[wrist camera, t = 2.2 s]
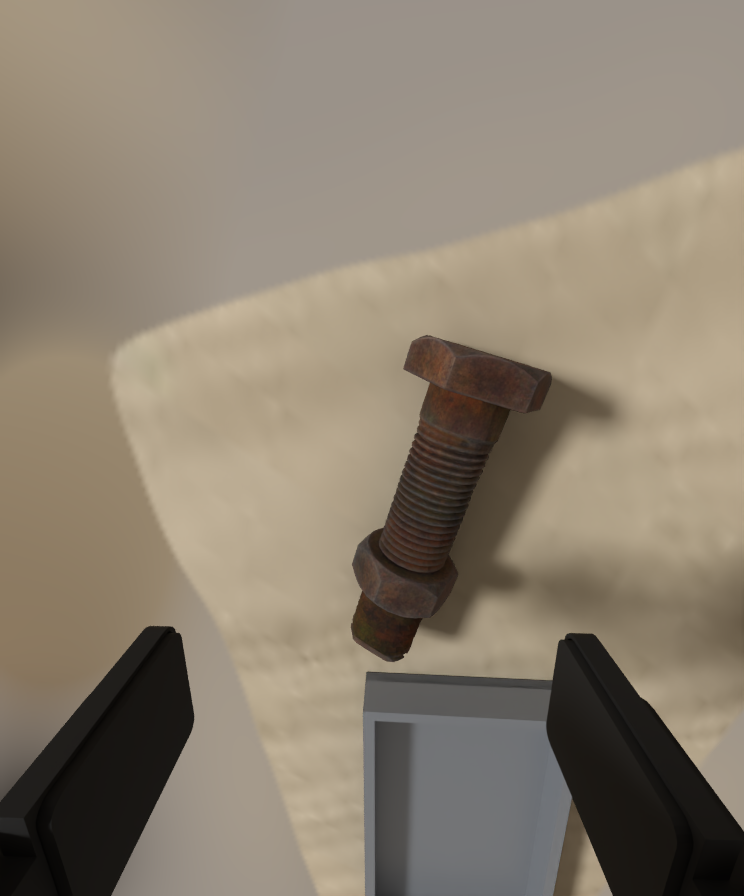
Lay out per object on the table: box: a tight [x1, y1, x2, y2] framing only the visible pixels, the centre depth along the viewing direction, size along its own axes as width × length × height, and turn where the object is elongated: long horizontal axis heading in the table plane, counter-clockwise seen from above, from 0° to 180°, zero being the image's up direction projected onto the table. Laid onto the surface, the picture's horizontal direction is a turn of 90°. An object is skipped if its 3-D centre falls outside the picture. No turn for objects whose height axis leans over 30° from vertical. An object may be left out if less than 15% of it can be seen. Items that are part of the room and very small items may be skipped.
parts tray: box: [363, 672, 572, 896], centre depth 24 cm, size 11×20×2 cm, turn 0°
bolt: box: [351, 335, 552, 662], centre depth 17 cm, size 6×5×15 cm
